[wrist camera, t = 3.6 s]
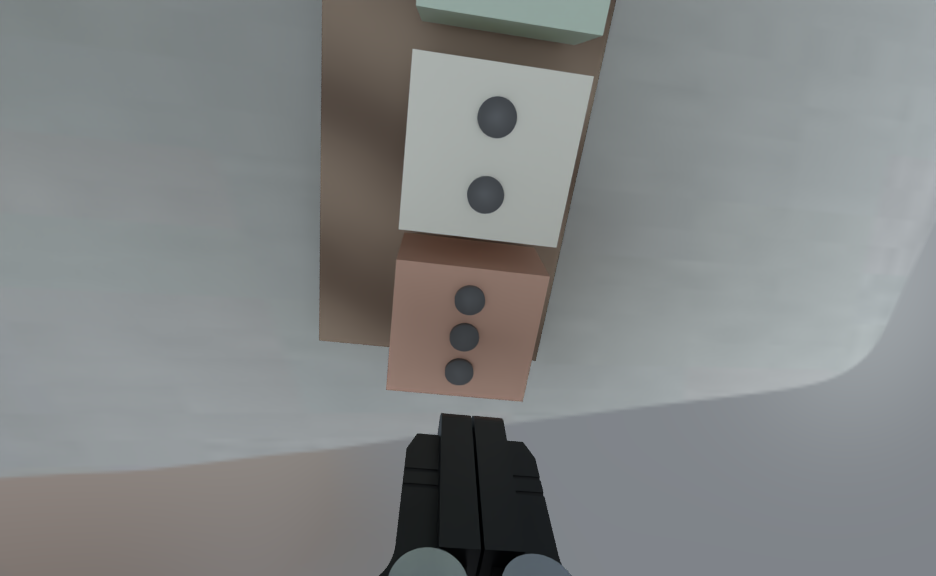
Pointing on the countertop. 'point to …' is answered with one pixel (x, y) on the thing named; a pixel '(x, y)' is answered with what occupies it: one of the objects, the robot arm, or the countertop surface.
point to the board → (396, 148)
